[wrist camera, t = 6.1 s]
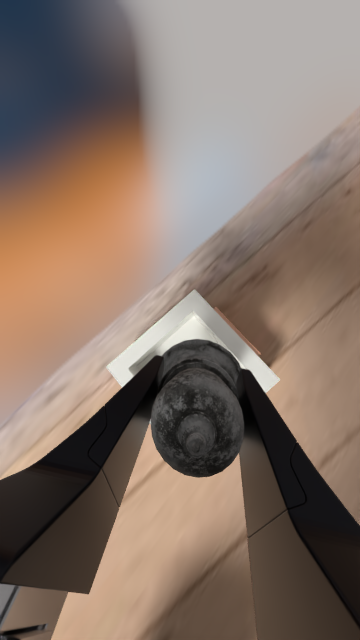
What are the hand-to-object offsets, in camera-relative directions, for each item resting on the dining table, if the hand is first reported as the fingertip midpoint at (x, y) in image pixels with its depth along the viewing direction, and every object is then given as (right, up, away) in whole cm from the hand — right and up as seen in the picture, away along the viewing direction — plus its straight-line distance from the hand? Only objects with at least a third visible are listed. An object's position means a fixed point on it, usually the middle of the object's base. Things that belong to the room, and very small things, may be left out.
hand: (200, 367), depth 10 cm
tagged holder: (0, -3, +13) cm, 13 cm away
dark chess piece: (0, -2, +6) cm, 7 cm away
